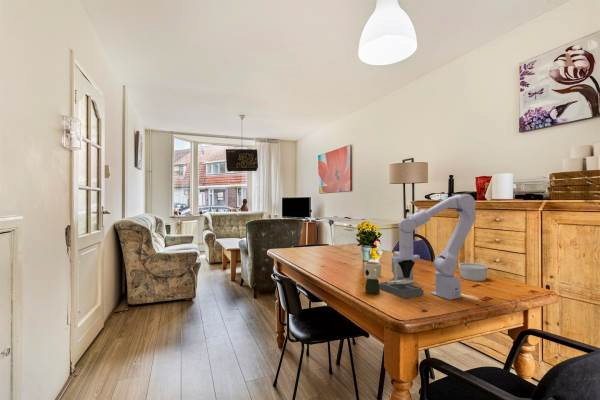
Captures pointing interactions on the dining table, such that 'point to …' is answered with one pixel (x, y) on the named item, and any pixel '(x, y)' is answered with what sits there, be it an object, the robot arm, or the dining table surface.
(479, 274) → the ramekin
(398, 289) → the breaker panel
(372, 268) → the character mug
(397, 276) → the circuit breaker
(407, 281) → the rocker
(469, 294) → the dining table surface
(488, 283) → the dining table surface
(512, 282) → the dining table surface
